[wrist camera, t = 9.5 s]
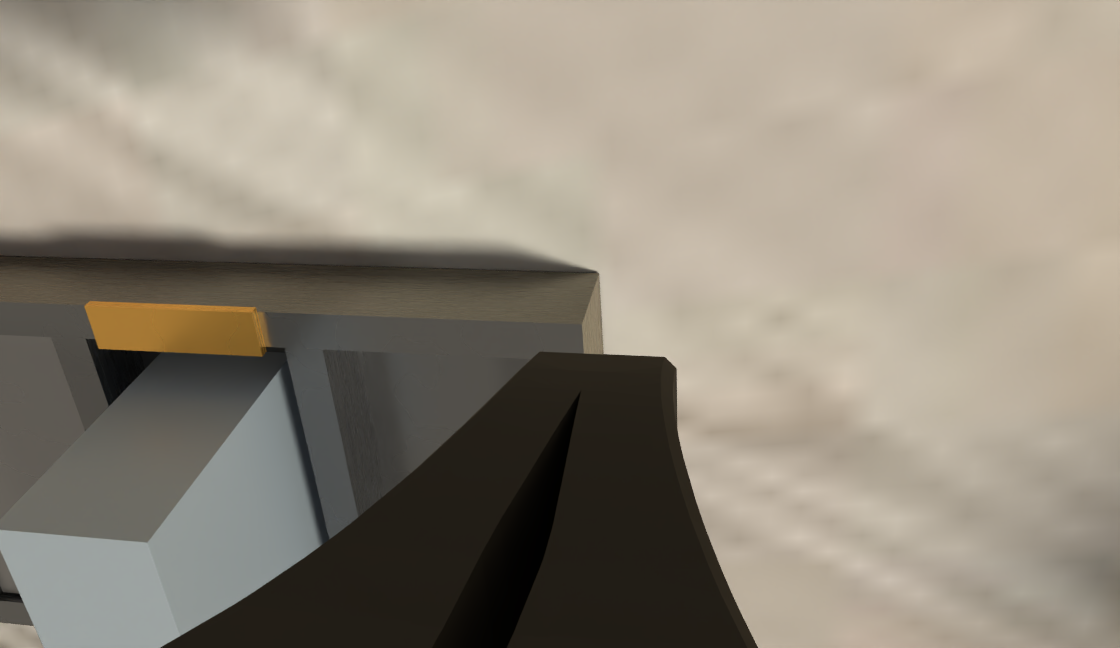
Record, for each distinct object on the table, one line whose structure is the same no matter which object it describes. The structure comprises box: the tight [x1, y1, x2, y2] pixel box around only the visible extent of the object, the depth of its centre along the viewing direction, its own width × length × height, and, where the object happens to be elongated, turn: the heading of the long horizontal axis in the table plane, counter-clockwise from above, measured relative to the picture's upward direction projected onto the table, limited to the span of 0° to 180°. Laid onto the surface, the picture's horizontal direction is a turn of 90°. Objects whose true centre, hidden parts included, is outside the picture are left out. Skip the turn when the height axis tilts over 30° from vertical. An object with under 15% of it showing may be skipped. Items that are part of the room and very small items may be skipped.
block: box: [0, 352, 329, 648], centre depth 22 cm, size 6×3×6 cm, turn 4°
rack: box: [0, 256, 603, 626], centre depth 24 cm, size 10×16×2 cm, turn 94°
